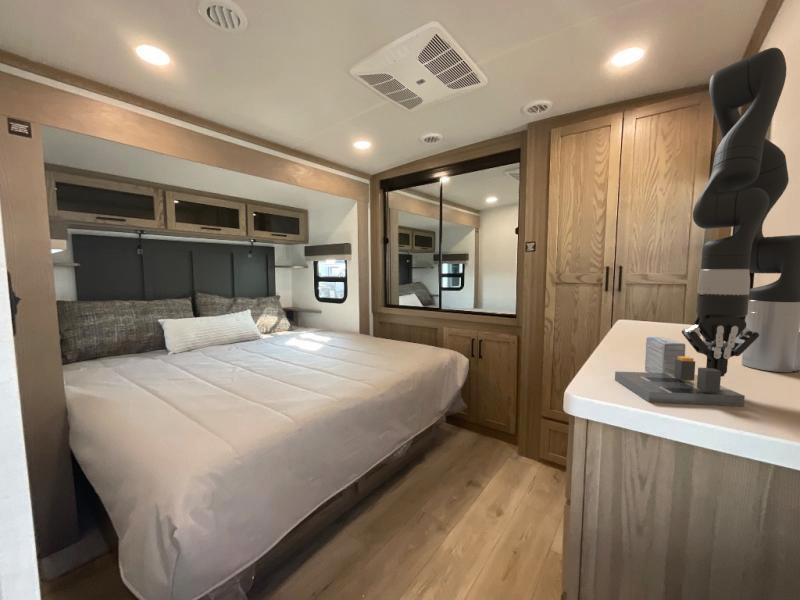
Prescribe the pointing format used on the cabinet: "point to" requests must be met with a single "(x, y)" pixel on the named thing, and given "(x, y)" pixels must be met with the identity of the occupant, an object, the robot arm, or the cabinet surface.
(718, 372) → the block
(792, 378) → the cabinet surface
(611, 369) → the cabinet surface
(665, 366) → the light grey block
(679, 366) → the block
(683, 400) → the board
